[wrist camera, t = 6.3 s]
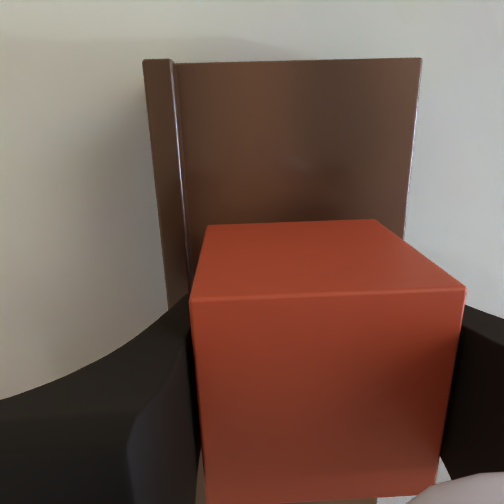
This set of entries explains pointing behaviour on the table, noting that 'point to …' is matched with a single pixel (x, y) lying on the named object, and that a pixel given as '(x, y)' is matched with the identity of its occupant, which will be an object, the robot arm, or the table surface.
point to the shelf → (276, 152)
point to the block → (320, 361)
